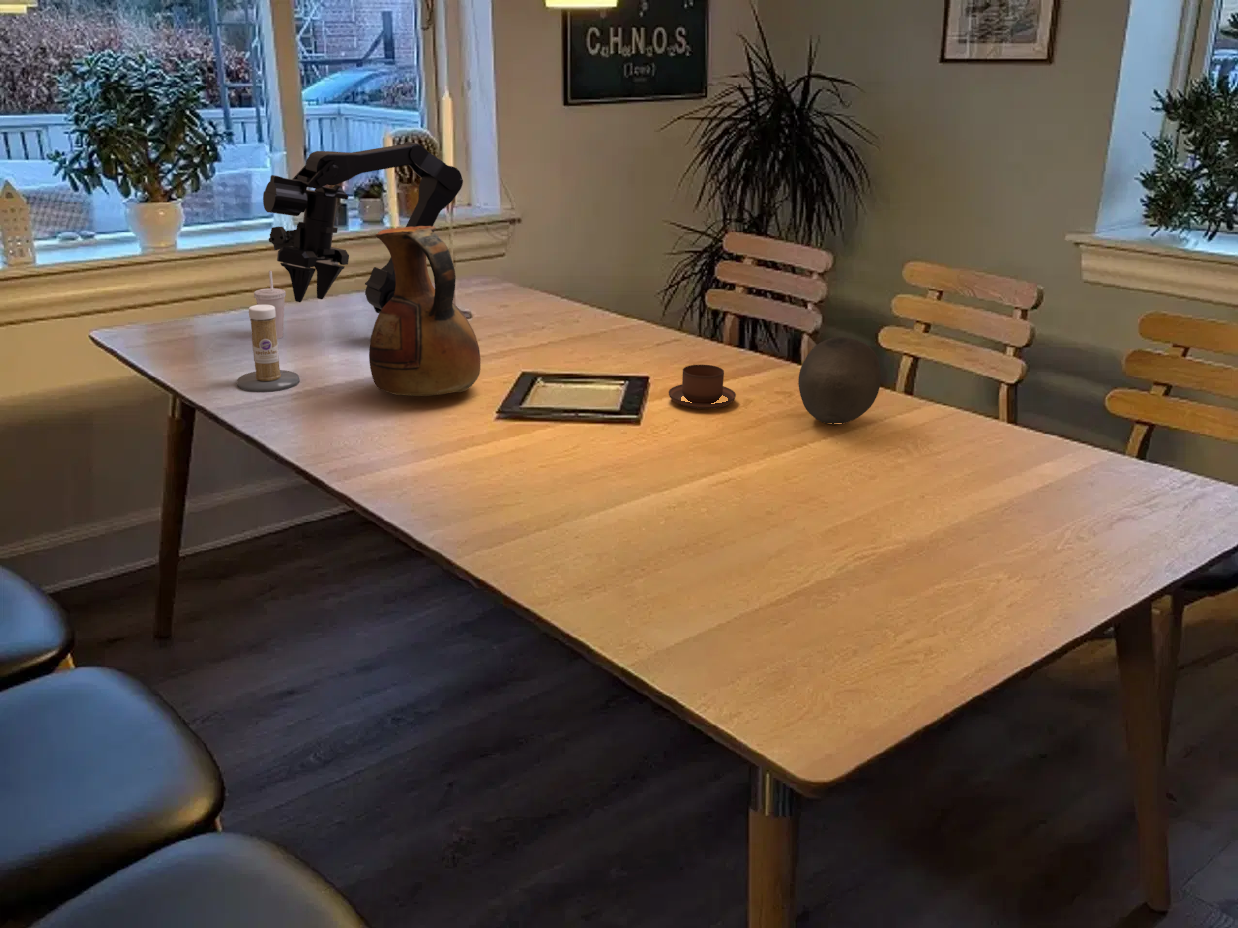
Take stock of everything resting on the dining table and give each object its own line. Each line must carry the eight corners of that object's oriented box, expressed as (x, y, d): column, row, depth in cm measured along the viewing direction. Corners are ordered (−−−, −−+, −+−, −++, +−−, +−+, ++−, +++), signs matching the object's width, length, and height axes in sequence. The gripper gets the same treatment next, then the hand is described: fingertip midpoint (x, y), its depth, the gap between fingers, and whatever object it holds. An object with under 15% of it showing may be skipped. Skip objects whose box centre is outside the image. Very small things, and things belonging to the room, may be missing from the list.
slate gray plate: (309, 376, 209) (308, 372, 209) (283, 393, 199) (283, 389, 199) (254, 372, 211) (253, 368, 211) (226, 389, 201) (225, 385, 201)
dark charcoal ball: (776, 420, 192) (783, 335, 186) (835, 406, 199) (843, 324, 194) (835, 444, 181) (844, 355, 175) (895, 429, 188) (905, 343, 183)
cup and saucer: (654, 402, 200) (655, 369, 198) (699, 388, 208) (700, 357, 205) (704, 419, 192) (706, 384, 190) (748, 404, 200) (751, 371, 198)
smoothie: (284, 341, 232) (278, 274, 226) (253, 340, 232) (246, 273, 226) (293, 333, 237) (287, 268, 232) (263, 332, 238) (257, 267, 232)
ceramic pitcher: (430, 369, 215) (423, 212, 204) (504, 391, 203) (501, 226, 192) (348, 392, 201) (336, 225, 190) (423, 417, 189) (414, 241, 178)
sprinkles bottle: (260, 383, 202) (253, 310, 197) (252, 377, 205) (244, 305, 201) (285, 379, 205) (278, 307, 200) (276, 373, 208) (269, 302, 203)
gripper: (302, 212, 223) (293, 289, 226) (255, 210, 205) (246, 294, 208) (354, 223, 221) (344, 300, 225) (311, 222, 203) (301, 306, 207)
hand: (309, 300), depth 216 cm, fingers open, 9 cm apart
